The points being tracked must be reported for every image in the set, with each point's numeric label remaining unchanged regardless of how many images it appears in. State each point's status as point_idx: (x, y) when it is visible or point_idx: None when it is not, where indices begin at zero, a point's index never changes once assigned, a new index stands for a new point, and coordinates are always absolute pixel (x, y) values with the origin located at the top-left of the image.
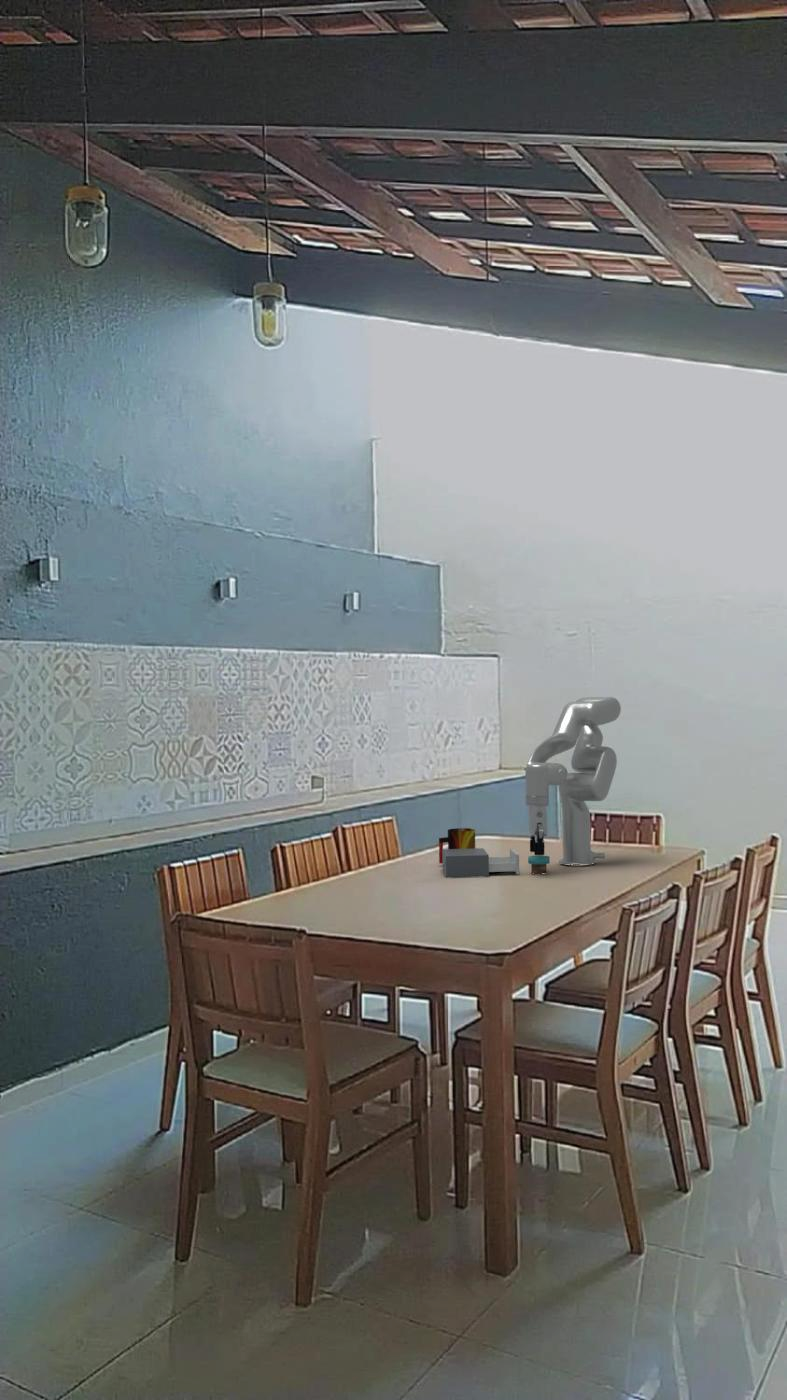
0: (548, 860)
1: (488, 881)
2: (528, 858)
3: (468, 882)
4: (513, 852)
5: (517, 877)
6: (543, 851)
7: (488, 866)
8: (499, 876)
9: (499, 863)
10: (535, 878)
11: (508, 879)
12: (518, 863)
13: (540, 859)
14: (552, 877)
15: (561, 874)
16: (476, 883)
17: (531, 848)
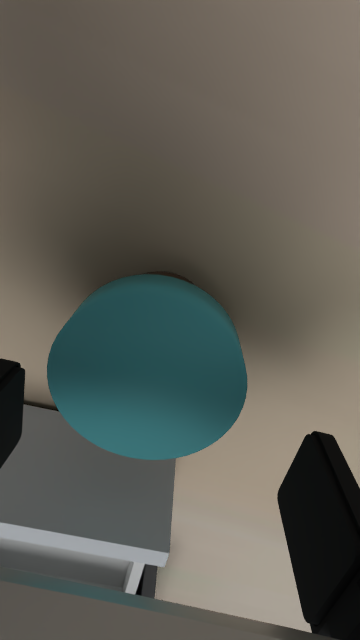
0: (220, 315)
1: (280, 570)
2: (140, 451)
3: (263, 616)
4: (23, 538)
5: (240, 459)
6: (341, 466)
7: (154, 592)
8: (172, 508)
9: (143, 566)
10: (321, 400)
11: (275, 505)
12: (172, 492)
13: (240, 400)
14: (348, 303)
15: (263, 190)
16: (300, 606)
17: (6, 455)
